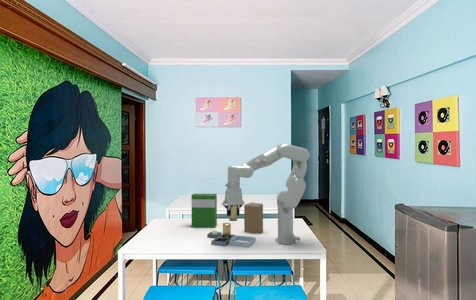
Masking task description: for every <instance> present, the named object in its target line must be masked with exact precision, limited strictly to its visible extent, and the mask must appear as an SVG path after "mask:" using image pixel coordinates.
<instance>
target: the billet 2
mask: <svg viewBox="0 0 476 300" xmlns="http://www.w3.org/2000/svg"><path fill="white" fill-rule="evenodd" d="M228 221H230V222H237V221H238V216H237V205H231V206H230V217H229V216H228Z"/></svg>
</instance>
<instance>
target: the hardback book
mask: <svg viewBox="0 0 476 300" xmlns="http://www.w3.org/2000/svg"><path fill="white" fill-rule="evenodd" d="M217 197H218V196H217V193H193V194H191V228H197V229H198V228H199V229H200V228H201V229H202V228H203V229H216V227H217V224H218V219H217V217H218V212H217V209H218V208H217V207H218V205H217V203H218V200H217Z"/></svg>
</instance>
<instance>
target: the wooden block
mask: <svg viewBox="0 0 476 300" xmlns="http://www.w3.org/2000/svg"><path fill="white" fill-rule="evenodd" d="M243 208H244V210H243V215H244V217H243V219H244V221H243V223H244V227H243V228H244V231H243V232H244V233H249V234H253V235H257V234H261V233H263V232H264V204H263V203H258V202H249V203H246V204H244V205H243Z"/></svg>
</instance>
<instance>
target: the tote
mask: <svg viewBox="0 0 476 300" xmlns="http://www.w3.org/2000/svg"><path fill="white" fill-rule="evenodd" d="M235 235H236V236H235V237H234V238H232V239H231V240H230V241H229V244H228V245H229V246H233V247H241V248H251V247H252V245H254V244H255V243H256V241H257V240H256V237H255V236H248V235H237V234H235ZM244 241H246V242H244Z"/></svg>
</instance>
